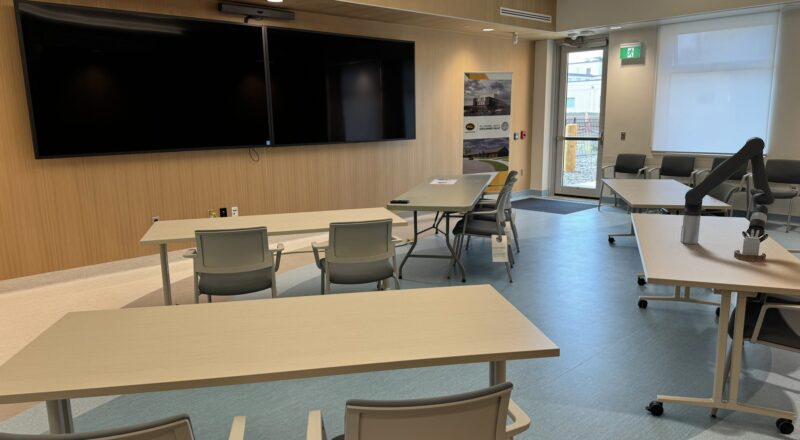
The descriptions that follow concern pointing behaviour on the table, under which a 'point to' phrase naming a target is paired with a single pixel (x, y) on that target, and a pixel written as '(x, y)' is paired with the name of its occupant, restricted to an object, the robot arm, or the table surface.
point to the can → (751, 245)
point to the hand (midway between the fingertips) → (752, 247)
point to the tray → (749, 256)
